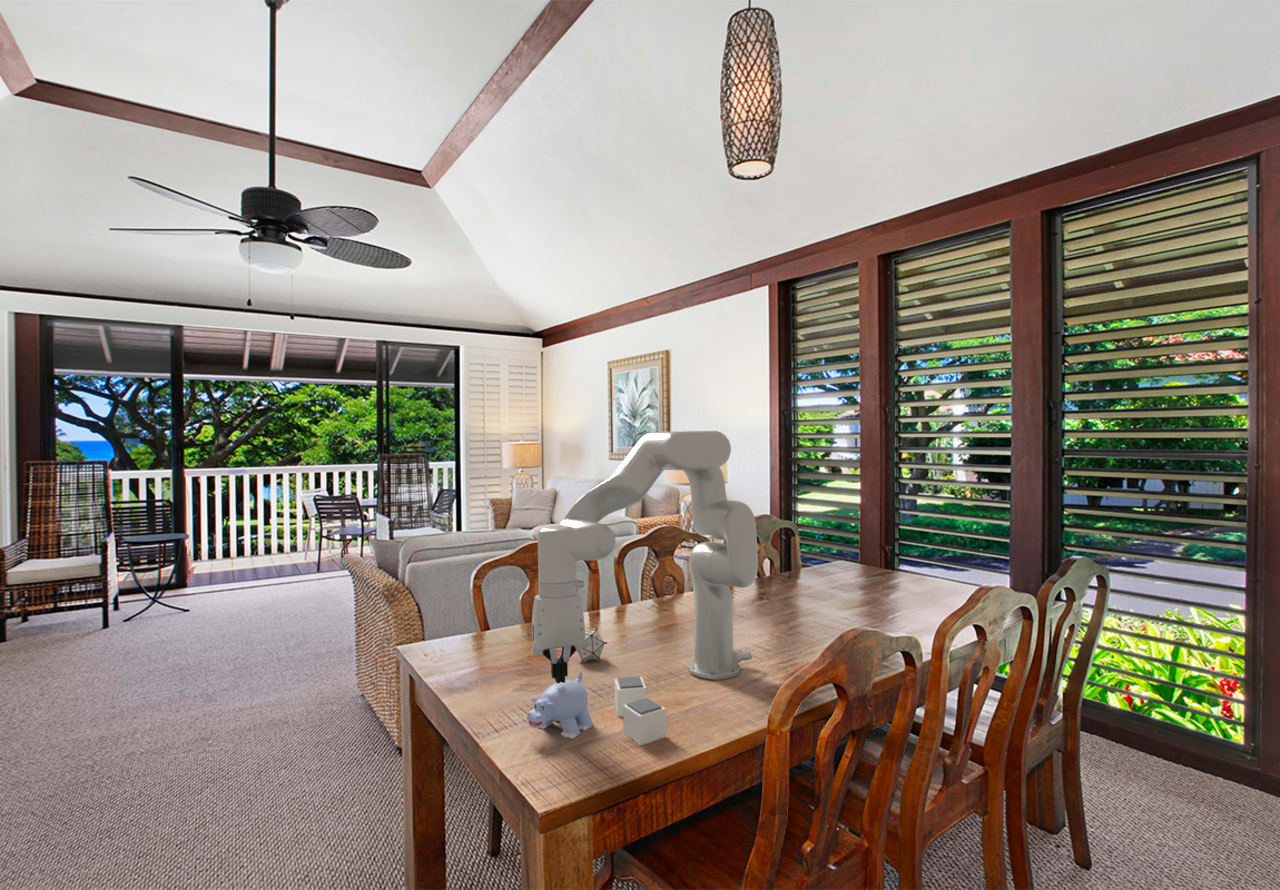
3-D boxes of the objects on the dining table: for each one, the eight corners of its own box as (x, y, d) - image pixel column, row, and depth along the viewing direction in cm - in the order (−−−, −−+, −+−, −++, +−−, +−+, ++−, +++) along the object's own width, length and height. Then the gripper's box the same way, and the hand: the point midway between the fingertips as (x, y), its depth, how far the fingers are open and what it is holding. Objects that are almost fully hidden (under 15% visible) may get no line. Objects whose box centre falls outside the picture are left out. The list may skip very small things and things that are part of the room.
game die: (594, 676, 160) (600, 653, 154) (565, 663, 162) (569, 640, 156) (608, 650, 167) (613, 627, 162) (579, 637, 169) (584, 614, 163)
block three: (642, 702, 136) (641, 675, 136) (646, 714, 130) (646, 685, 130) (614, 704, 135) (614, 677, 135) (618, 716, 129) (617, 688, 129)
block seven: (648, 725, 125) (648, 696, 125) (666, 737, 120) (665, 706, 120) (623, 733, 122) (622, 703, 122) (640, 746, 117) (639, 714, 117)
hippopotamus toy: (512, 737, 121) (511, 688, 121) (563, 708, 134) (562, 664, 134) (553, 752, 115) (552, 701, 115) (603, 720, 128) (602, 674, 127)
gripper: (589, 581, 129) (591, 668, 130) (517, 588, 124) (519, 679, 125) (599, 589, 122) (600, 682, 123) (522, 597, 117) (524, 693, 118)
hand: (559, 680), depth 124 cm, fingers closed
